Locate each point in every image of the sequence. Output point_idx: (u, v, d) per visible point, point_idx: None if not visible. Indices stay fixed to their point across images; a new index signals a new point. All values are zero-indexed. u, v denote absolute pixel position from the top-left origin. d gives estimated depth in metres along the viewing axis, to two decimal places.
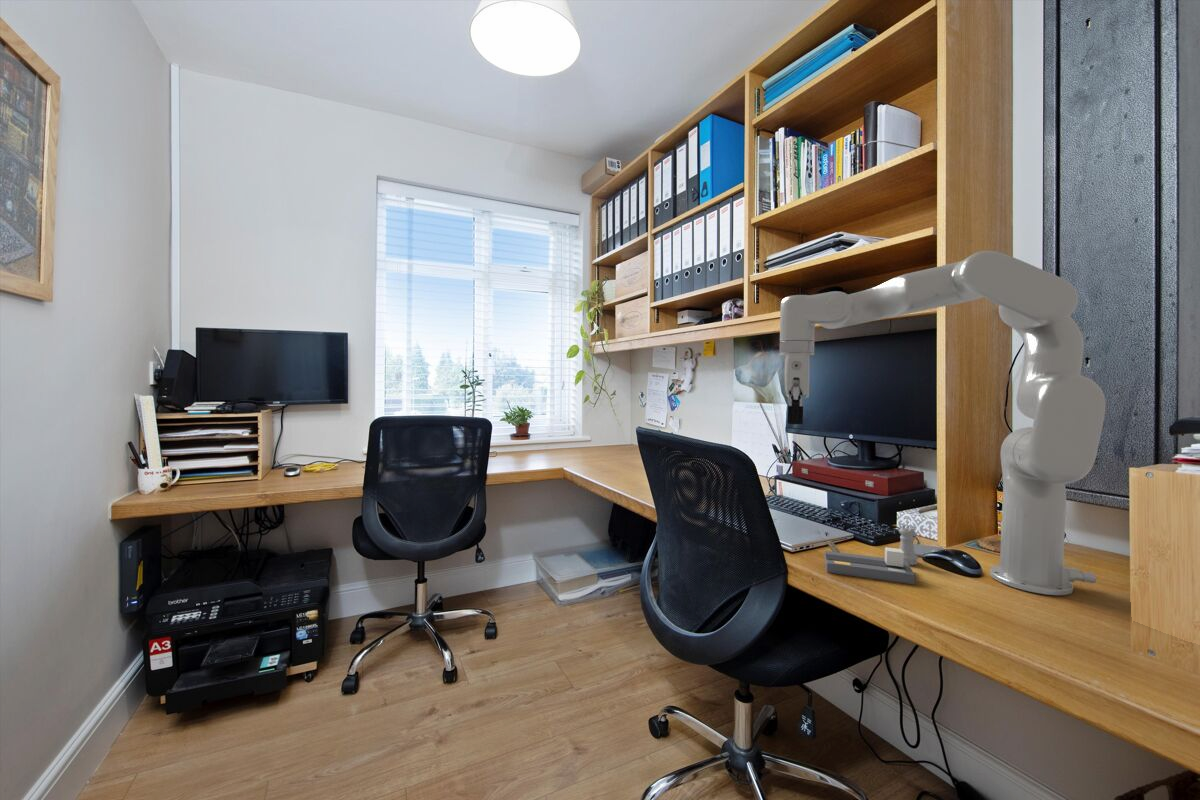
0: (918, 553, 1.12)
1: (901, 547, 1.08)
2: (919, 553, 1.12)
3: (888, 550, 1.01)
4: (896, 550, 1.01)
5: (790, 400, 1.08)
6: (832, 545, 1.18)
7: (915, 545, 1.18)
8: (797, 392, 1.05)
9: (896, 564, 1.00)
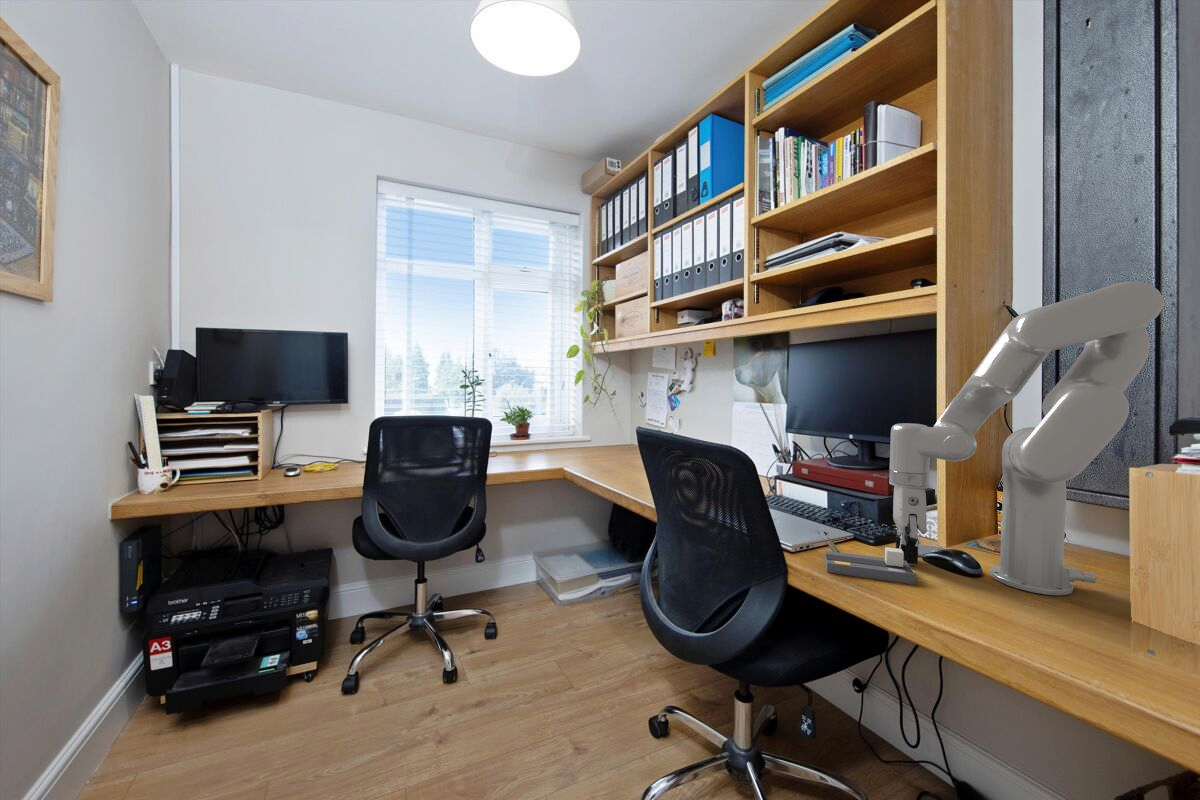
0: (918, 553, 1.12)
1: None
2: (919, 553, 1.12)
3: (888, 550, 1.01)
4: (896, 550, 1.01)
5: (904, 540, 1.05)
6: (831, 544, 1.18)
7: None
8: (915, 539, 1.02)
9: (896, 564, 1.00)
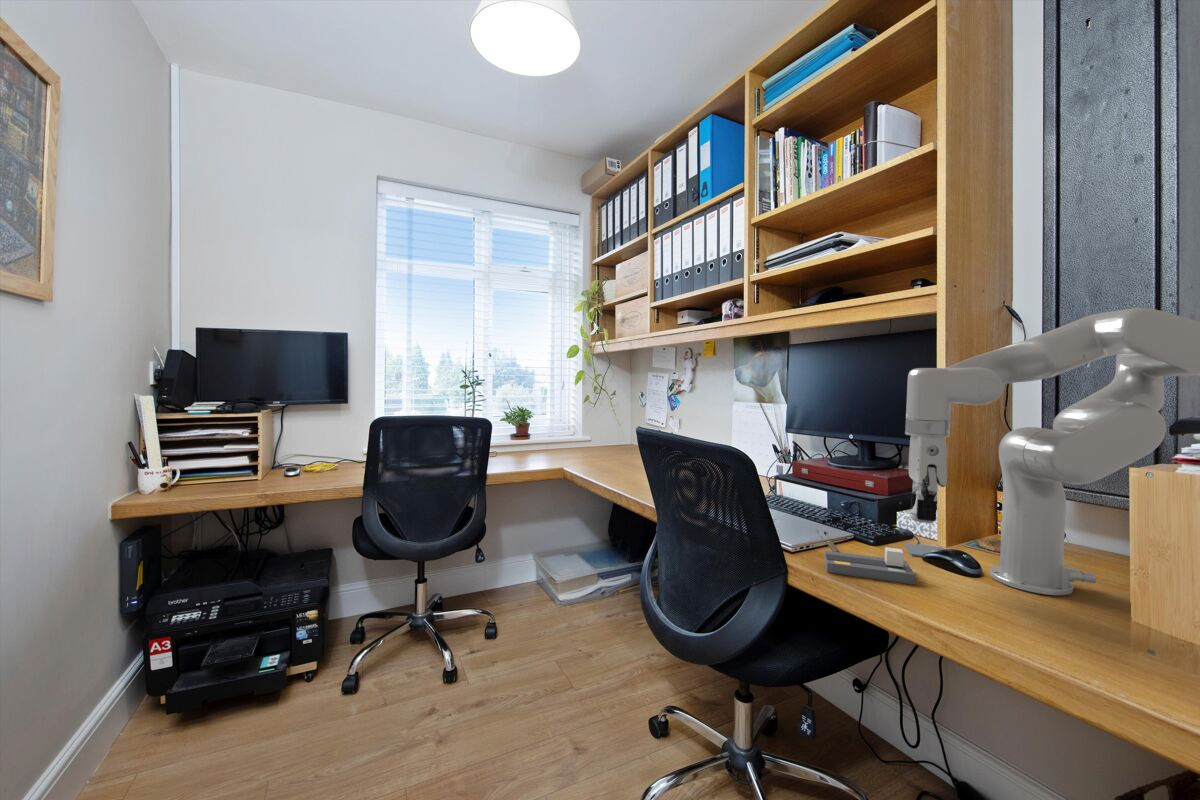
0: (918, 553, 1.12)
1: None
2: (919, 553, 1.12)
3: (888, 550, 1.01)
4: (896, 550, 1.01)
5: (922, 495, 0.96)
6: (831, 544, 1.18)
7: (915, 545, 1.18)
8: (934, 492, 0.93)
9: (896, 564, 1.00)
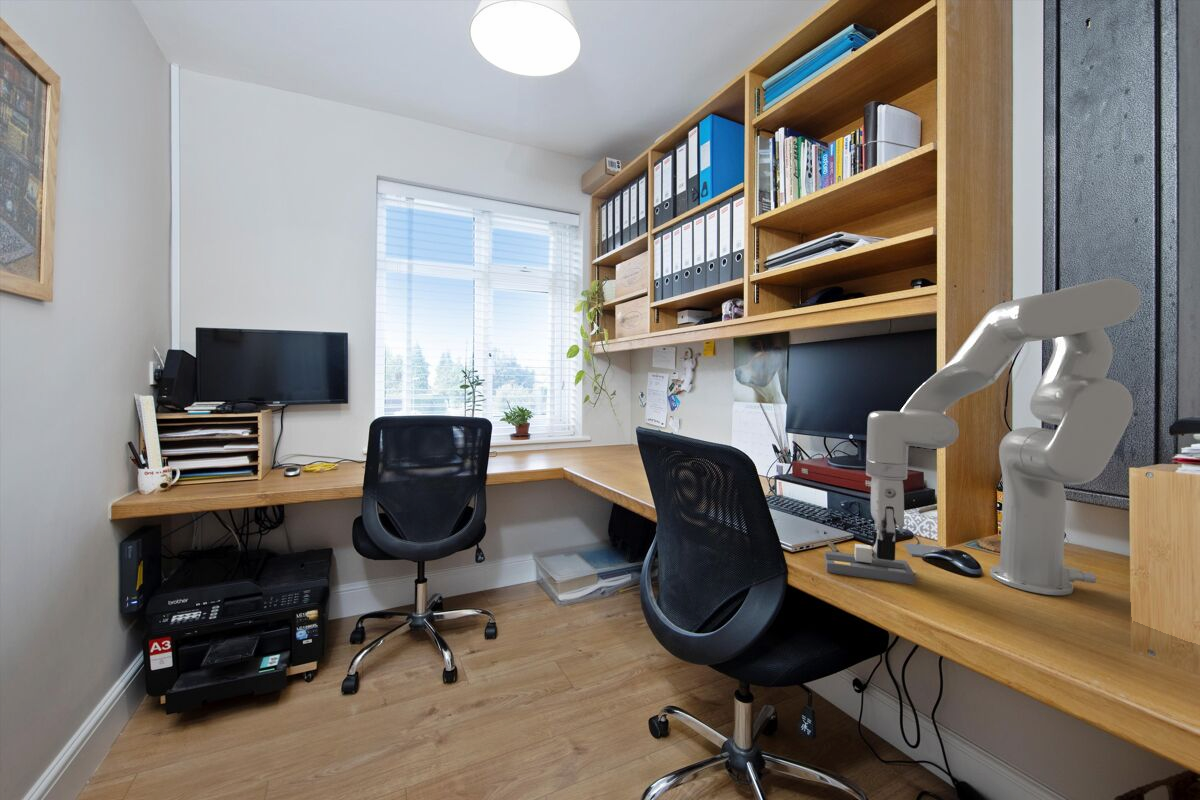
0: (918, 553, 1.12)
1: None
2: (919, 553, 1.12)
3: (857, 546, 1.03)
4: (865, 546, 1.03)
5: (881, 535, 0.99)
6: (831, 544, 1.19)
7: (915, 545, 1.18)
8: (892, 533, 0.96)
9: (865, 560, 1.02)
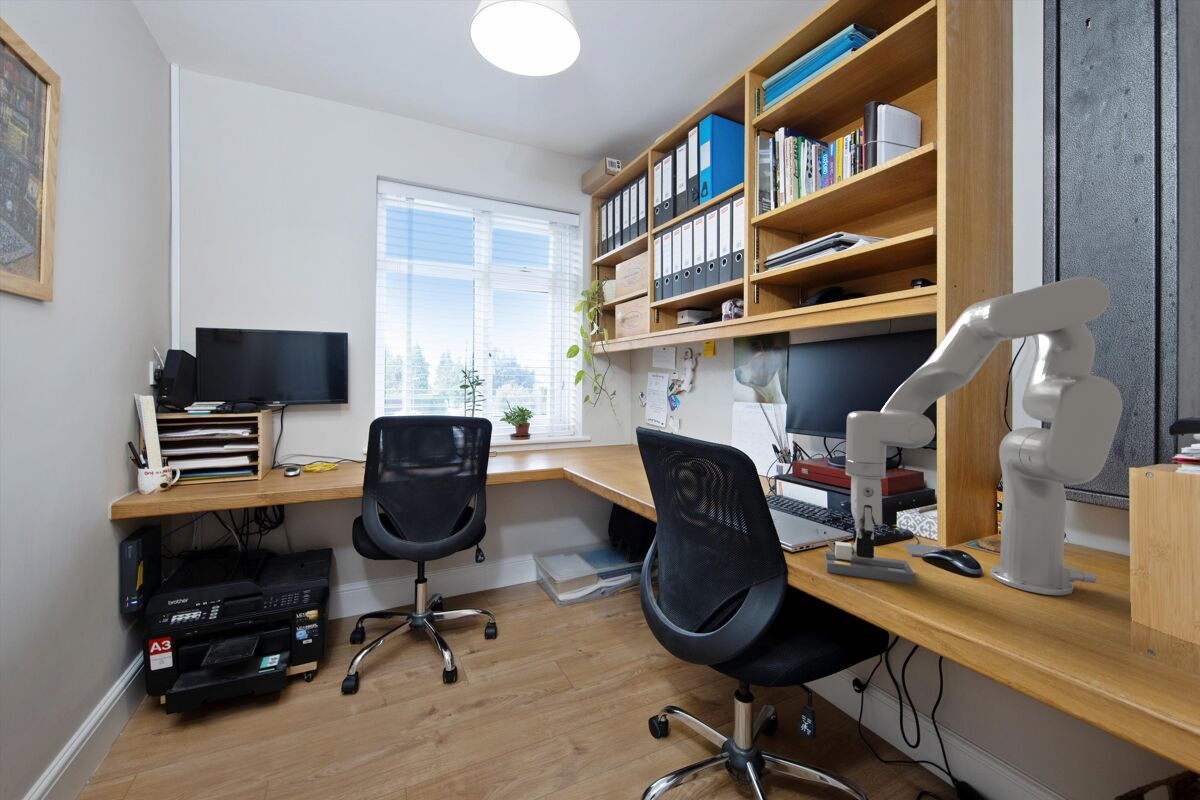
0: (918, 553, 1.12)
1: None
2: (919, 553, 1.12)
3: (837, 544, 1.05)
4: (845, 544, 1.04)
5: (860, 533, 1.00)
6: (830, 544, 1.19)
7: (915, 545, 1.18)
8: (870, 532, 0.97)
9: (845, 557, 1.04)
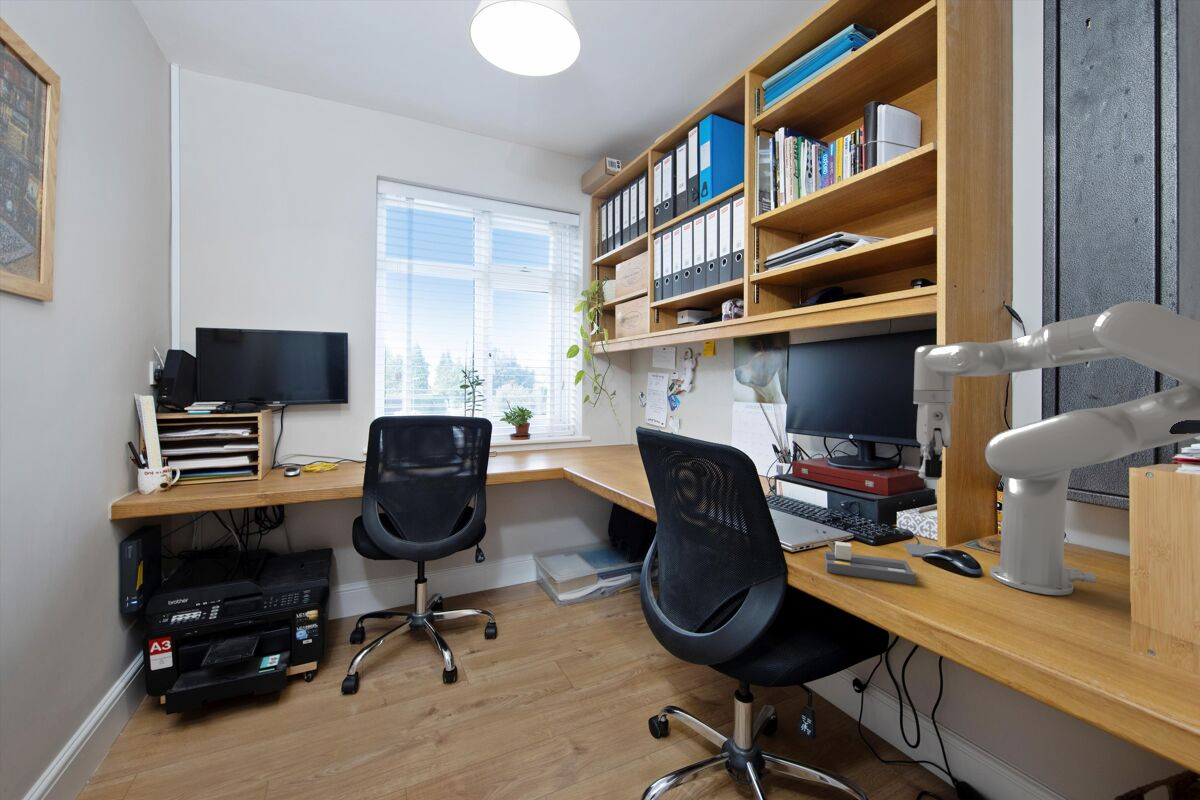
0: (918, 553, 1.12)
1: (924, 463, 1.13)
2: (919, 553, 1.12)
3: (837, 544, 1.05)
4: (845, 544, 1.04)
5: (929, 455, 1.10)
6: (830, 543, 1.19)
7: (915, 545, 1.18)
8: (940, 451, 1.07)
9: (844, 557, 1.04)
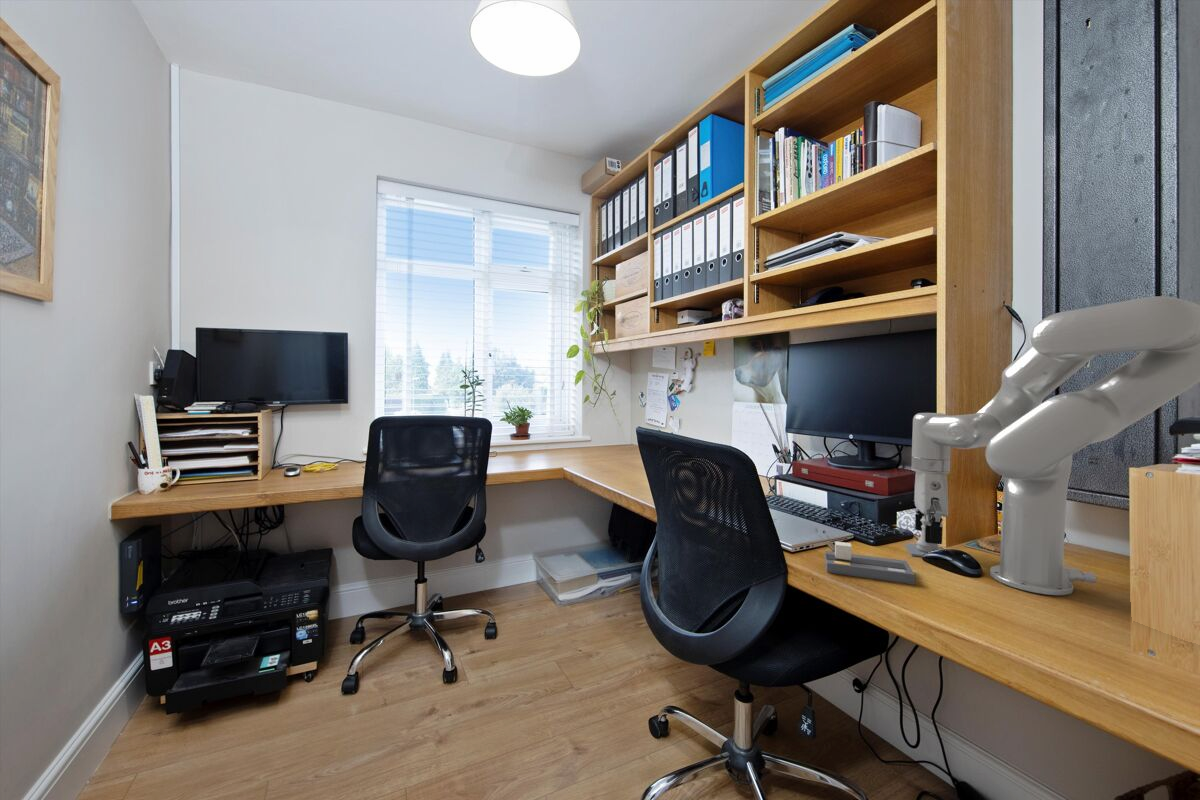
0: (918, 553, 1.12)
1: (922, 536, 1.14)
2: (919, 553, 1.12)
3: (837, 544, 1.05)
4: (845, 544, 1.04)
5: (929, 520, 1.09)
6: (829, 543, 1.19)
7: (915, 545, 1.18)
8: (940, 516, 1.06)
9: (844, 557, 1.04)
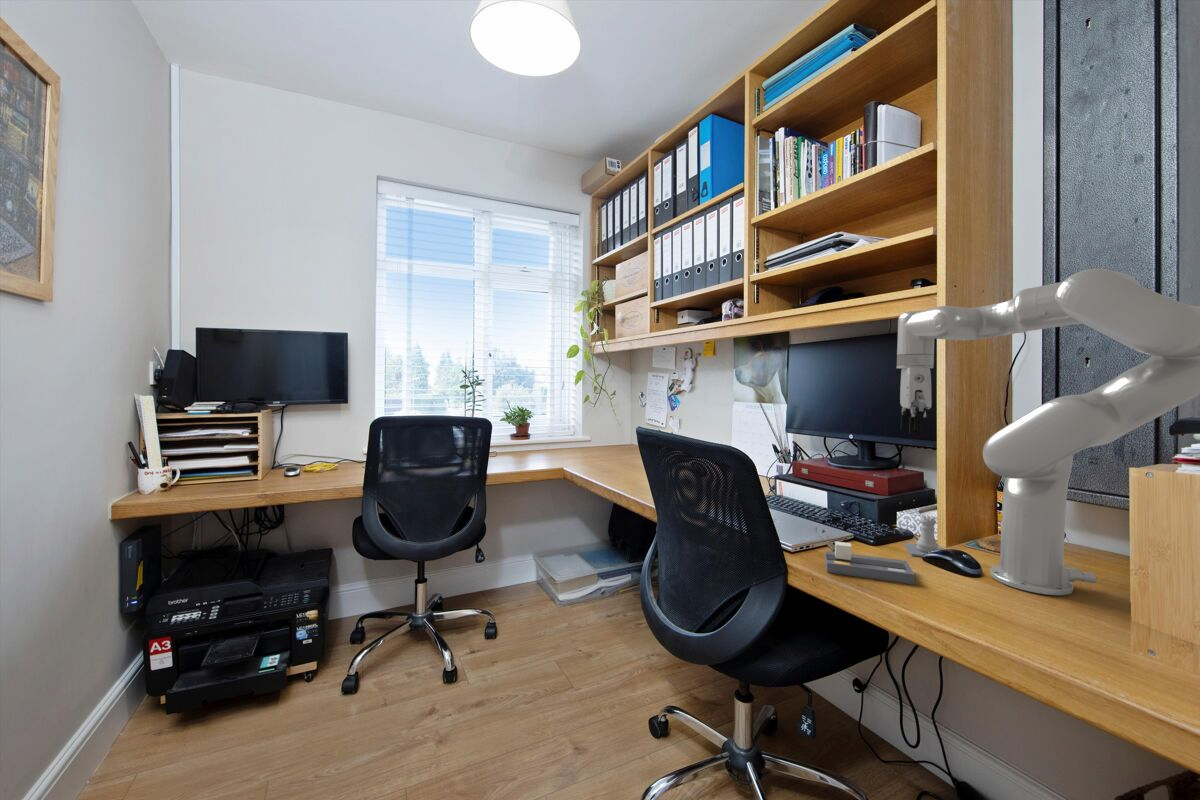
0: (918, 553, 1.12)
1: (922, 536, 1.14)
2: (919, 553, 1.12)
3: (837, 544, 1.05)
4: (845, 544, 1.04)
5: (913, 411, 1.13)
6: (829, 542, 1.20)
7: (915, 545, 1.18)
8: (923, 404, 1.10)
9: (844, 557, 1.04)
